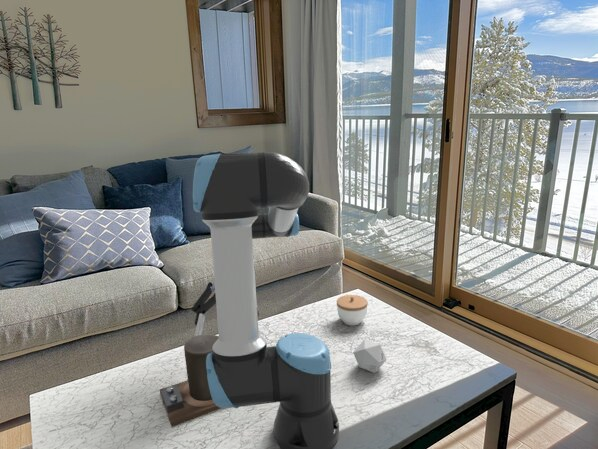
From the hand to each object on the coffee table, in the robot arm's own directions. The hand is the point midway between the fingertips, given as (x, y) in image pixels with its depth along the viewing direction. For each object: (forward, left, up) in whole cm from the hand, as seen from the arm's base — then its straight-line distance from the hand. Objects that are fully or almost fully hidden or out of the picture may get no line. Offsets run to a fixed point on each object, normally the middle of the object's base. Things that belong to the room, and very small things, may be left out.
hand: (219, 338), depth 117 cm
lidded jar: (+4, -49, -11) cm, 50 cm away
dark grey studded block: (-8, +7, -9) cm, 14 cm away
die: (-21, -37, -11) cm, 44 cm away
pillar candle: (-8, +7, -9) cm, 14 cm away
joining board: (-8, +7, -10) cm, 15 cm away
